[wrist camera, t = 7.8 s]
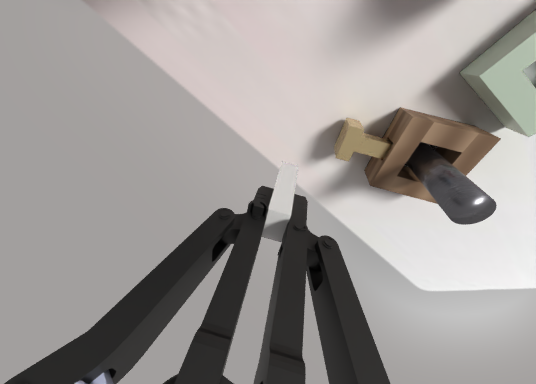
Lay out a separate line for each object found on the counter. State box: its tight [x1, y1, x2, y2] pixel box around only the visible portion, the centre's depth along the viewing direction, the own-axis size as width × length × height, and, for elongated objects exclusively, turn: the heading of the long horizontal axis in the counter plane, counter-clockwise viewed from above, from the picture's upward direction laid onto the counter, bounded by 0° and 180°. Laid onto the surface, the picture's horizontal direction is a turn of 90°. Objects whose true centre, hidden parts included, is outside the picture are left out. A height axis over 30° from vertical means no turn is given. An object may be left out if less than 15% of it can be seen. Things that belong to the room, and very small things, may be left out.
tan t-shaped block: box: [334, 118, 393, 161], centre depth 30 cm, size 9×5×4 cm, turn 79°
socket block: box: [364, 108, 501, 204], centre depth 30 cm, size 11×11×5 cm
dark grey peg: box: [406, 142, 496, 224], centre depth 26 cm, size 4×4×15 cm
